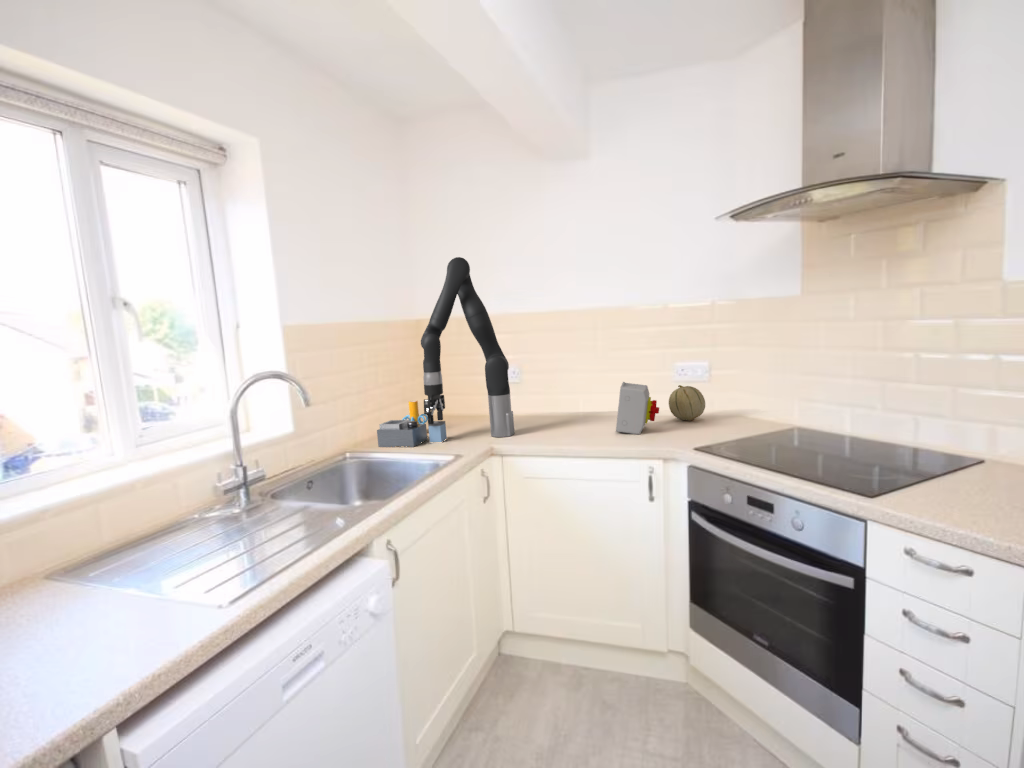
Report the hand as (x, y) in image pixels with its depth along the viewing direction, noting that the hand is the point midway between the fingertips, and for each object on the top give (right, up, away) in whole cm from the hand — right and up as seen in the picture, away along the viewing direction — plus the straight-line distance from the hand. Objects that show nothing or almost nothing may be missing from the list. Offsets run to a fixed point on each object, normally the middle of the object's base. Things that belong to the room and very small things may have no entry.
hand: (435, 422), depth 211 cm
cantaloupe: (+106, 0, +7) cm, 106 cm away
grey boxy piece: (-13, -9, +1) cm, 16 cm away
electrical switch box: (+82, -3, -6) cm, 82 cm away
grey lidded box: (+1, -8, 0) cm, 8 cm away
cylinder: (-11, -7, +18) cm, 22 cm away
